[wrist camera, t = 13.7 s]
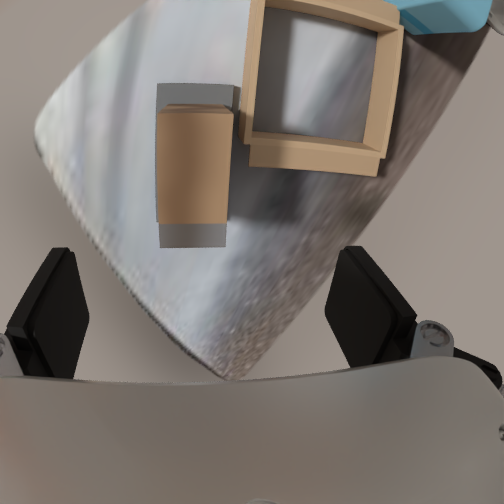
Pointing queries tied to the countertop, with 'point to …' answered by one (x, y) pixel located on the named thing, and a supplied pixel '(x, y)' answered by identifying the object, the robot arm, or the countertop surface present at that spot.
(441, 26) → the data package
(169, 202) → the walnut box
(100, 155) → the countertop surface
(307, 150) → the carton
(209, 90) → the mat
